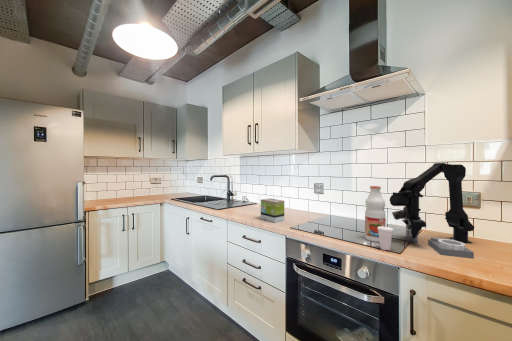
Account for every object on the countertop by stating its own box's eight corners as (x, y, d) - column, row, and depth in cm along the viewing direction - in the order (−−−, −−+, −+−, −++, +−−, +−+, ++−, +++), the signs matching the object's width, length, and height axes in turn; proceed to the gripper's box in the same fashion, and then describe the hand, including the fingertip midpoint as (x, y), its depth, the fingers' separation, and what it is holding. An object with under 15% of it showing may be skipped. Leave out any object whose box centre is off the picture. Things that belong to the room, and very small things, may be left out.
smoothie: (394, 248, 101) (394, 218, 101) (391, 252, 96) (392, 221, 96) (379, 245, 105) (379, 216, 105) (375, 249, 100) (375, 218, 100)
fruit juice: (377, 236, 119) (378, 185, 119) (389, 242, 110) (390, 187, 110) (361, 236, 119) (361, 185, 119) (371, 242, 109) (372, 186, 109)
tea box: (260, 219, 159) (260, 199, 159) (269, 217, 166) (269, 198, 166) (275, 223, 148) (275, 201, 148) (284, 221, 154) (285, 200, 154)
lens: (404, 240, 114) (404, 224, 114) (415, 241, 112) (416, 225, 112) (407, 243, 109) (407, 226, 109) (419, 244, 107) (419, 227, 107)
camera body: (427, 244, 107) (428, 235, 107) (455, 247, 104) (455, 237, 104) (441, 254, 94) (441, 244, 94) (473, 258, 91) (473, 247, 91)
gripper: (389, 202, 122) (389, 230, 122) (398, 207, 104) (398, 240, 104) (412, 203, 118) (412, 232, 118) (426, 209, 101) (426, 243, 101)
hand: (411, 236), depth 110 cm, fingers closed on lens, 5 cm apart
